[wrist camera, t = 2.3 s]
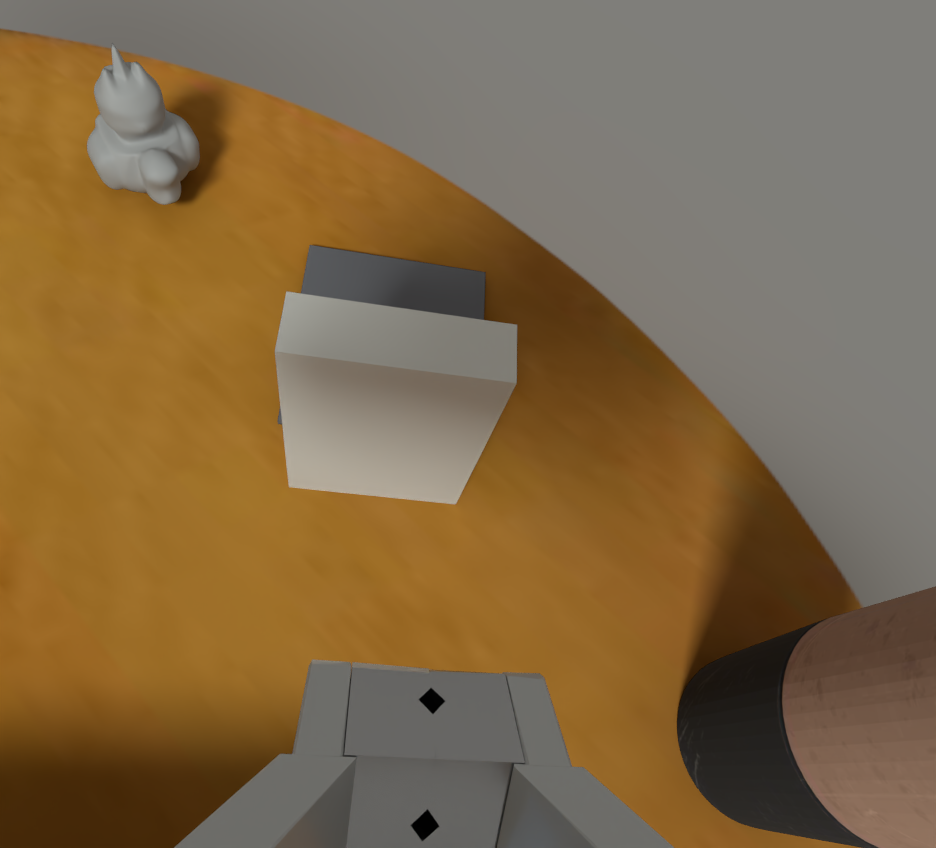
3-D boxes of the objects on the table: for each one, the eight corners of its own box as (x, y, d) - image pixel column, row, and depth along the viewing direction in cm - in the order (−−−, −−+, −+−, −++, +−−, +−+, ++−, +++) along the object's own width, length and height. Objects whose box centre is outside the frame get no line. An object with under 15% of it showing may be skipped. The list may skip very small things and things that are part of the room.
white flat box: (288, 487, 33) (275, 351, 22) (297, 436, 34) (287, 285, 24) (455, 504, 34) (516, 383, 24) (458, 455, 35) (517, 319, 25)
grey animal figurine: (179, 132, 41) (151, 1, 34) (225, 212, 39) (205, 90, 32) (84, 155, 39) (33, 20, 32) (127, 241, 37) (83, 116, 30)
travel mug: (789, 639, 34) (1281, 494, 17) (853, 814, 31) (1541, 861, 14) (648, 665, 32) (1037, 534, 15) (702, 855, 29) (1275, 970, 12)
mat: (278, 423, 34) (277, 420, 34) (309, 249, 39) (309, 245, 39) (478, 447, 36) (479, 443, 35) (483, 276, 41) (485, 272, 40)
